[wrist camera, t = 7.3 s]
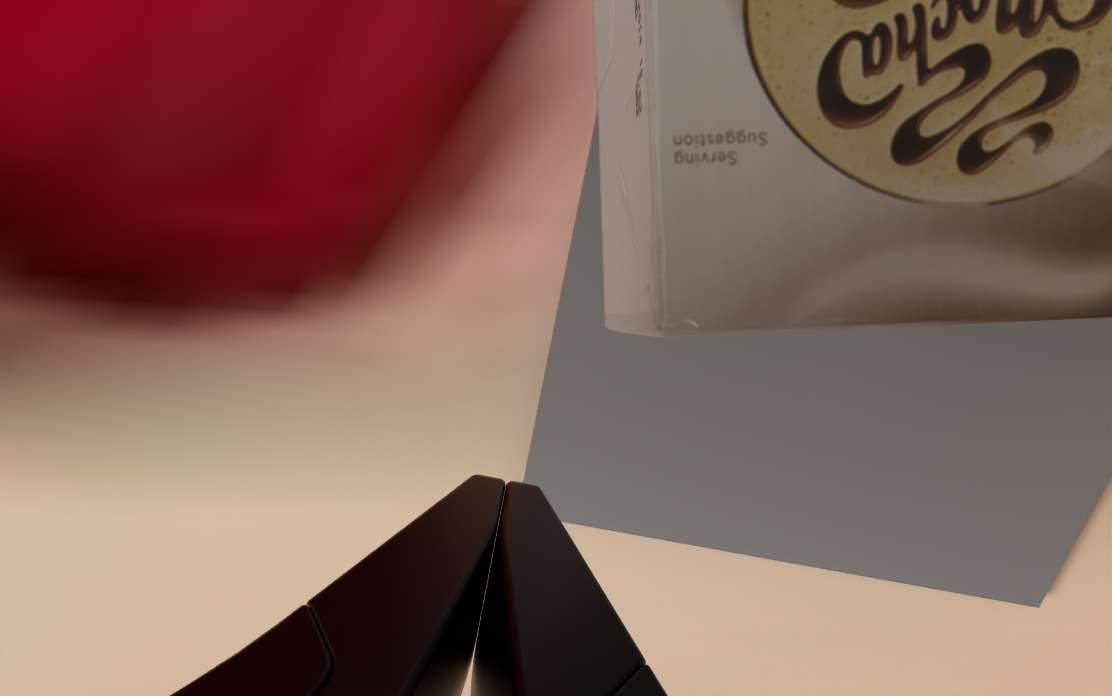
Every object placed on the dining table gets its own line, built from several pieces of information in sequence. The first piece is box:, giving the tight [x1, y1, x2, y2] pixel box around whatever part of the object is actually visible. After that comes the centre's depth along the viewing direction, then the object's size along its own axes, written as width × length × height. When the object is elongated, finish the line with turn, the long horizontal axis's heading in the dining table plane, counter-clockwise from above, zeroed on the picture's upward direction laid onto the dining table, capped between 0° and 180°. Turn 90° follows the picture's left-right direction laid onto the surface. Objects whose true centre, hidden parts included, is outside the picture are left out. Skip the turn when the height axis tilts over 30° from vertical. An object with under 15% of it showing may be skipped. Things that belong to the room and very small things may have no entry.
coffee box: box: [594, 0, 1112, 338], centre depth 13 cm, size 9×6×16 cm
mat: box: [523, 111, 1112, 608], centre depth 20 cm, size 17×15×1 cm
